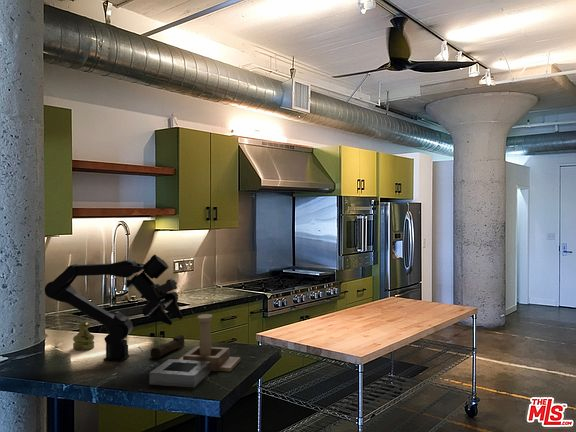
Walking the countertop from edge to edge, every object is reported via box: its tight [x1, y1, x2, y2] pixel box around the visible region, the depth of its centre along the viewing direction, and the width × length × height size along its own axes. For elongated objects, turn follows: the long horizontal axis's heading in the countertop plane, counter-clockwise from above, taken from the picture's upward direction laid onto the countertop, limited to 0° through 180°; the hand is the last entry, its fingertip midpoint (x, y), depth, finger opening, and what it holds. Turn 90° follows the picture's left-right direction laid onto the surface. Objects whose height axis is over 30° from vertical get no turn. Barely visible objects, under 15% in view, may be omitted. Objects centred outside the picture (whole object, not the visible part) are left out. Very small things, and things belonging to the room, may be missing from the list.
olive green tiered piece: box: [72, 321, 95, 352], centre depth 187 cm, size 7×7×10 cm
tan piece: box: [177, 345, 242, 372], centre depth 167 cm, size 20×12×4 cm, turn 80°
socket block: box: [149, 358, 211, 389], centre depth 153 cm, size 14×14×4 cm
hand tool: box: [150, 334, 185, 360], centre depth 182 cm, size 19×4×5 cm, turn 157°
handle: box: [196, 313, 213, 356], centre depth 167 cm, size 5×6×15 cm
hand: (176, 321), depth 171 cm, fingers open, 9 cm apart
